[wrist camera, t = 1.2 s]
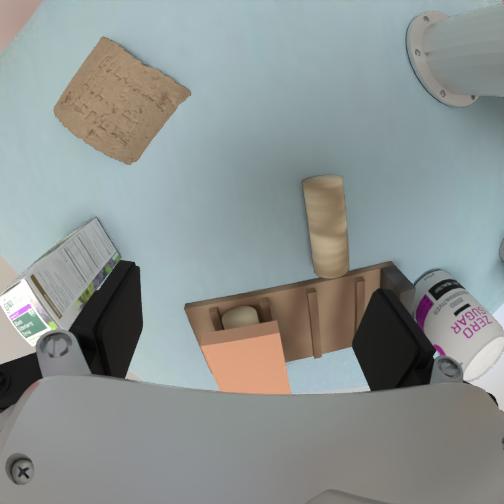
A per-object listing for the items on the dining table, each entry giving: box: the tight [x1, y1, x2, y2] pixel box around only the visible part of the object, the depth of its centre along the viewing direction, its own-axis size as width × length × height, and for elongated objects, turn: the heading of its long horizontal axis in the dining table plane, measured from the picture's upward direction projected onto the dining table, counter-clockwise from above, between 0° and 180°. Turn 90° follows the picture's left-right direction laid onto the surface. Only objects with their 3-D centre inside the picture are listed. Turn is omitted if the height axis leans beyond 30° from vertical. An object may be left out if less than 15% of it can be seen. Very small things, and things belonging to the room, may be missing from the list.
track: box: [184, 261, 416, 373], centre depth 34 cm, size 26×12×6 cm, turn 101°
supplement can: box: [412, 270, 504, 382], centre depth 30 cm, size 8×8×15 cm
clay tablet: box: [54, 37, 191, 165], centre depth 24 cm, size 14×10×3 cm
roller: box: [302, 175, 349, 278], centre depth 30 cm, size 4×10×4 cm, turn 12°
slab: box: [200, 320, 291, 394], centre depth 31 cm, size 8×11×2 cm
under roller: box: [222, 306, 259, 330], centre depth 34 cm, size 4×10×4 cm, turn 11°
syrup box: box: [0, 217, 120, 347], centre depth 24 cm, size 6×6×14 cm
